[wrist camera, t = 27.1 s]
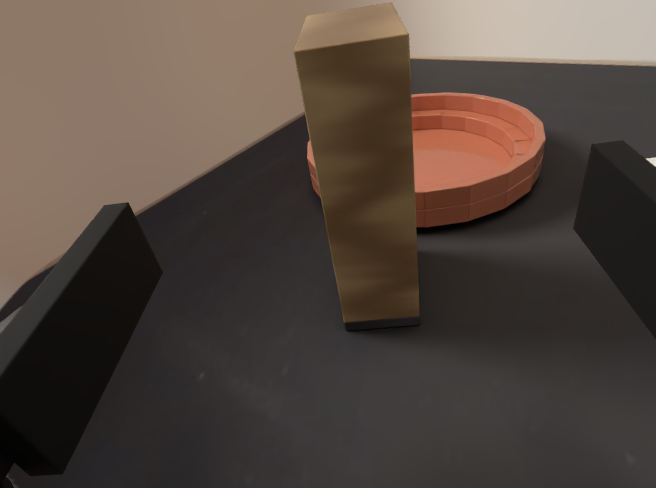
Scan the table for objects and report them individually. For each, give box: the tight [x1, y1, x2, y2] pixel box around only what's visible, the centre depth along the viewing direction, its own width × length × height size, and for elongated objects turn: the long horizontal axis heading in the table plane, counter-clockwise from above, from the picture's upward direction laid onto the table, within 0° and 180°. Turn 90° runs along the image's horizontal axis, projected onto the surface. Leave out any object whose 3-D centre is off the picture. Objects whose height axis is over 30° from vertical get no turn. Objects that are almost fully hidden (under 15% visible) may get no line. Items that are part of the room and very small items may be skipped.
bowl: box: [307, 93, 546, 227], centre depth 32 cm, size 16×16×3 cm
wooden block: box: [294, 2, 420, 331], centre depth 20 cm, size 4×6×13 cm, turn 178°
